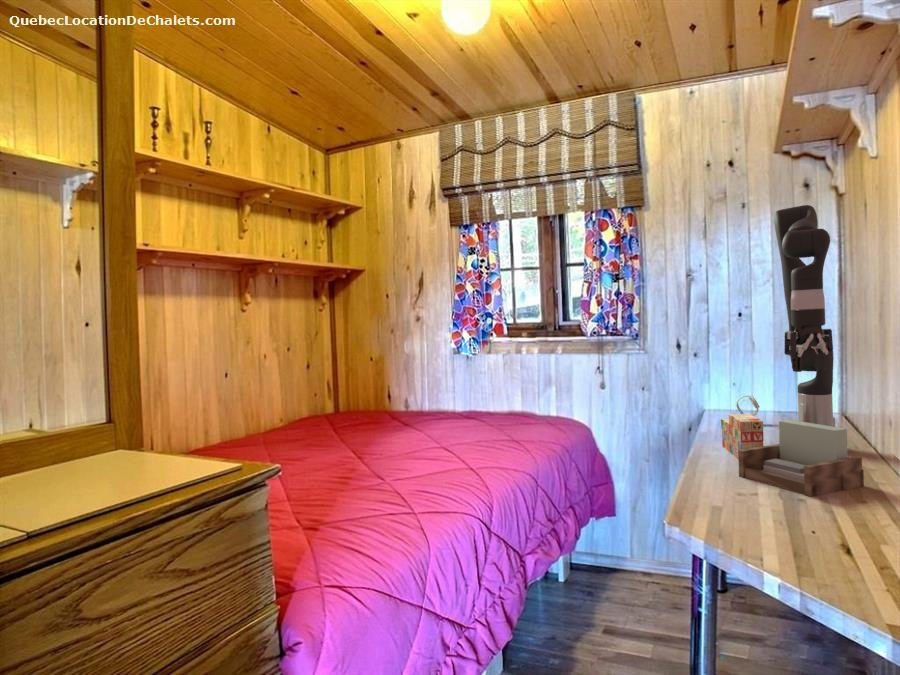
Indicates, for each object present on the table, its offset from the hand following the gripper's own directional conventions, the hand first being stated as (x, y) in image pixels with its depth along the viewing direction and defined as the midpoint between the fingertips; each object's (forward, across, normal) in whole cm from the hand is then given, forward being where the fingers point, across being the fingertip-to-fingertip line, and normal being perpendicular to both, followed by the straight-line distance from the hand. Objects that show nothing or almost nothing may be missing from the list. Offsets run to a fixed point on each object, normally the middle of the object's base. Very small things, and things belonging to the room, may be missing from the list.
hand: (809, 370), depth 154 cm
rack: (+28, +5, 0) cm, 29 cm away
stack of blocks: (+28, -6, -29) cm, 41 cm away
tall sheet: (+28, 0, 0) cm, 28 cm away
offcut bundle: (+28, +8, 0) cm, 30 cm away
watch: (+28, -45, -62) cm, 82 cm away
